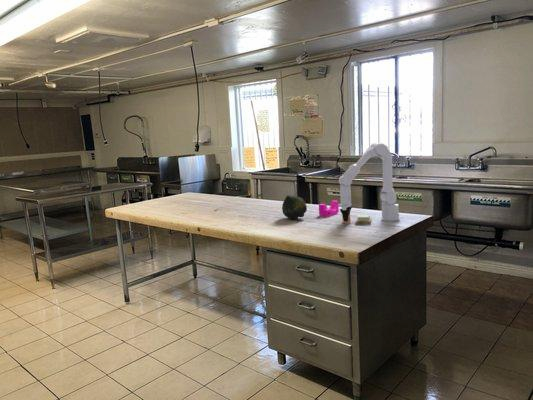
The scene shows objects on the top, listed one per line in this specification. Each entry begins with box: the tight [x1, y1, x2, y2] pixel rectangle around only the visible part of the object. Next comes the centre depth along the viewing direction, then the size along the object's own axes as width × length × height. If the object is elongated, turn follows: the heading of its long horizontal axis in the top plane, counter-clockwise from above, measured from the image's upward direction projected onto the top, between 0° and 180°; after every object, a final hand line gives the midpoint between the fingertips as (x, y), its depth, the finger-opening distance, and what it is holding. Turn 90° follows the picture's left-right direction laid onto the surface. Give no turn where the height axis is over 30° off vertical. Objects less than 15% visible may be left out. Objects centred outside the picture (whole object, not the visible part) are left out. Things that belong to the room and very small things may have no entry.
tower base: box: [355, 217, 372, 226], centre depth 234 cm, size 8×8×2 cm
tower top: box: [357, 214, 371, 221], centre depth 234 cm, size 6×6×2 cm
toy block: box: [318, 200, 340, 218], centre depth 261 cm, size 15×6×8 cm, turn 134°
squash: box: [281, 195, 308, 221], centre depth 255 cm, size 14×15×15 cm
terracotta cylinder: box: [341, 213, 352, 225], centre depth 237 cm, size 4×4×4 cm
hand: (346, 220), depth 237 cm, fingers closed on terracotta cylinder, 4 cm apart
